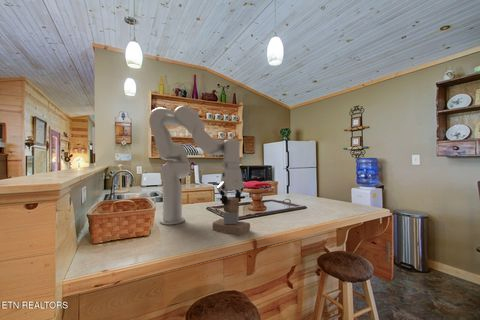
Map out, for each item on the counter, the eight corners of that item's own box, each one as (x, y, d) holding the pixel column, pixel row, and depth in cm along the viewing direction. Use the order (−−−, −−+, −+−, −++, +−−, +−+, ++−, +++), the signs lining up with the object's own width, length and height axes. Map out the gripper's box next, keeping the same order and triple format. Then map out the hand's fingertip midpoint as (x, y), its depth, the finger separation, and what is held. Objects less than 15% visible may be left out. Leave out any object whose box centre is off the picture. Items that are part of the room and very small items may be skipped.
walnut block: (223, 210, 106) (223, 198, 106) (231, 209, 109) (231, 197, 109) (230, 212, 102) (230, 199, 102) (238, 211, 106) (238, 198, 105)
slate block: (238, 220, 108) (238, 210, 108) (237, 224, 102) (237, 213, 102) (226, 220, 108) (226, 209, 108) (224, 223, 102) (224, 212, 102)
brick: (211, 231, 106) (211, 221, 106) (221, 226, 113) (221, 217, 113) (241, 238, 97) (241, 227, 97) (250, 232, 105) (250, 222, 104)
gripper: (222, 166, 97) (222, 207, 97) (250, 165, 109) (249, 201, 109) (211, 166, 102) (211, 204, 102) (239, 165, 114) (239, 199, 115)
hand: (231, 202), depth 106 cm, fingers open, 8 cm apart
